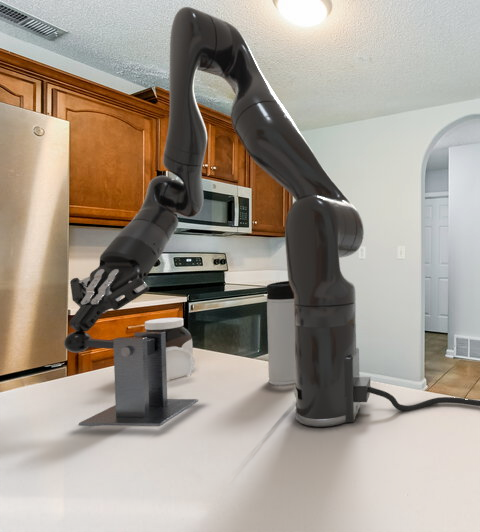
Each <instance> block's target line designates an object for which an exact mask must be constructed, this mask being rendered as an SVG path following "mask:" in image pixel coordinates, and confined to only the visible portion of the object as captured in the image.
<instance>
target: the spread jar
mask: <svg viewBox="0 0 480 532" xmlns="http://www.w3.org/2000/svg"><path fill="white" fill-rule="evenodd" d="M144 330H145V331H144V332H165V337H166V369H167V383H171V382H170V380H173V379H177V378H181V377H184V376H186V377H190V376H192V374H193V372H194V370H195V363H196V362H195V358H194V351H193V350H194V349H193V347H194V346H193V345H194V344H193V337H192V334H191V332H190V331H189V330H188V329H187V328H185V327H184V318H183V317H162V318H155V319H154V318H153V319H149V320H146V321H144Z"/></svg>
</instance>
